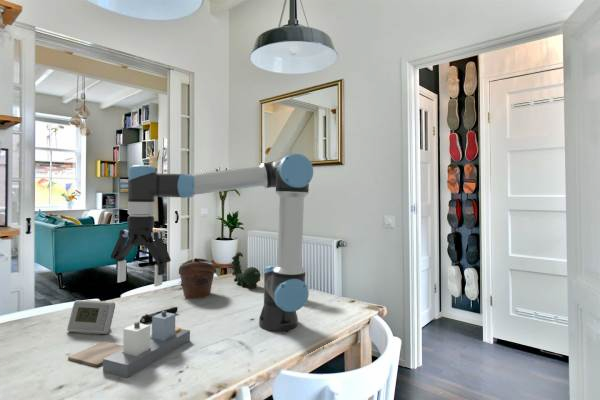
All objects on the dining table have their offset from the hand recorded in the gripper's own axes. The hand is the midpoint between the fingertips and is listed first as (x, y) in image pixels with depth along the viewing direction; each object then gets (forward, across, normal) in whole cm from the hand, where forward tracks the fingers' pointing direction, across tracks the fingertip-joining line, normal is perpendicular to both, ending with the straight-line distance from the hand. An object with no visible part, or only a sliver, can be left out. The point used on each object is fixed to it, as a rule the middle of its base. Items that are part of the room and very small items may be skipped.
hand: (139, 283), depth 107 cm
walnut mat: (+22, +10, +4) cm, 25 cm away
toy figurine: (+22, +2, -86) cm, 88 cm away
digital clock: (+22, +28, -10) cm, 37 cm away
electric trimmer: (+22, +14, -29) cm, 39 cm away
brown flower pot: (+22, +18, -62) cm, 68 cm away
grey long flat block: (+22, -4, -1) cm, 22 cm away
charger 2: (+20, -5, -6) cm, 22 cm away
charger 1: (+20, -4, +5) cm, 21 cm away
